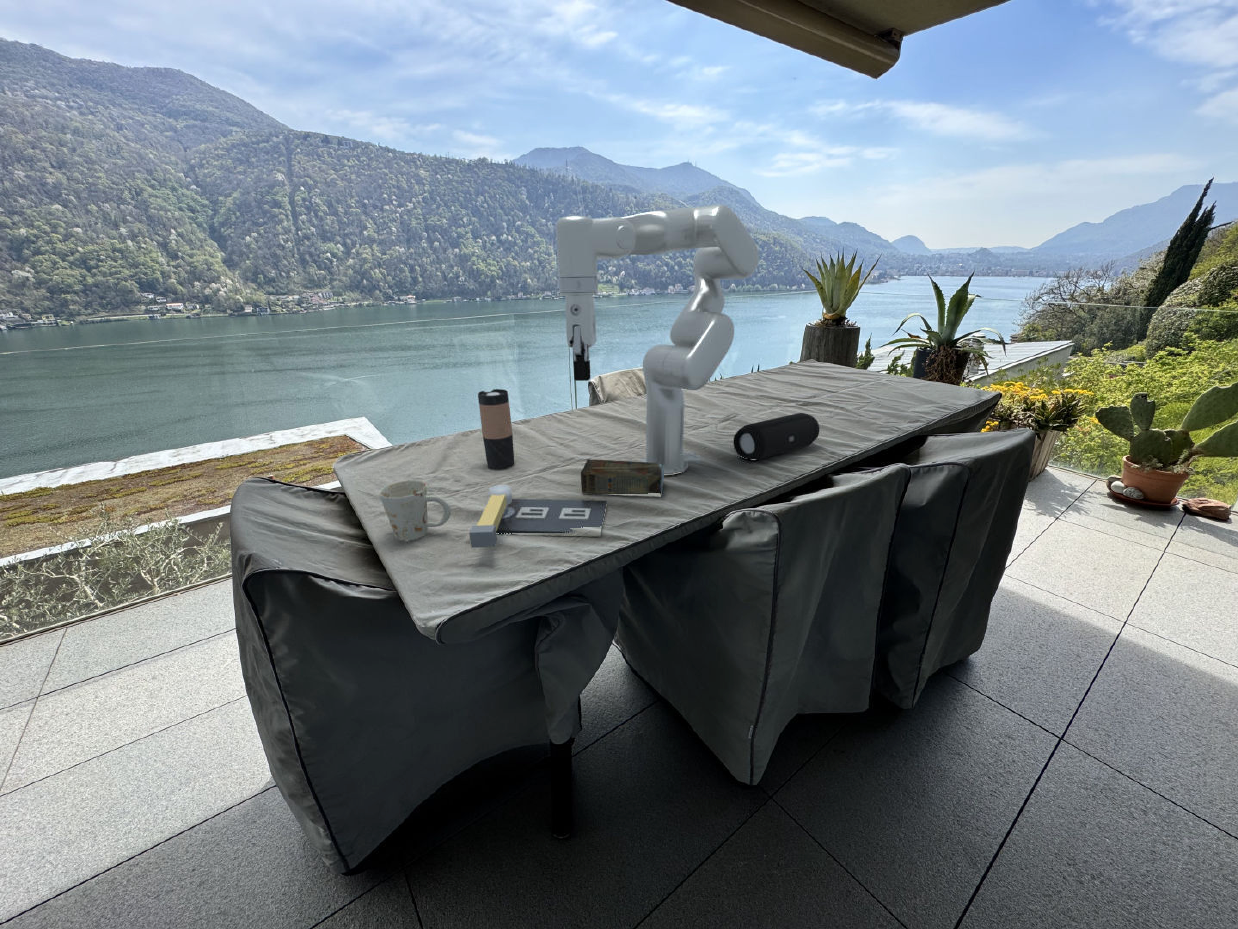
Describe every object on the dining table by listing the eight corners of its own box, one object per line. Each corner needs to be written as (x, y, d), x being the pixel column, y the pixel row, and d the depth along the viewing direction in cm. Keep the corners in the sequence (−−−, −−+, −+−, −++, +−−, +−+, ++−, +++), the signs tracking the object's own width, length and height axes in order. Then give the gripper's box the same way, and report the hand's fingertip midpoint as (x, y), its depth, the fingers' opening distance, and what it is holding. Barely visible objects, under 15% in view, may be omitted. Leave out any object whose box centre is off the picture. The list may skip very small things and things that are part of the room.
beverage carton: (662, 499, 109) (662, 472, 107) (580, 495, 112) (578, 469, 109) (664, 484, 116) (664, 459, 114) (586, 481, 119) (585, 457, 116)
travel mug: (508, 471, 125) (500, 396, 118) (481, 469, 127) (471, 395, 119) (519, 460, 132) (512, 389, 125) (494, 458, 134) (485, 388, 126)
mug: (397, 524, 99) (388, 480, 95) (459, 521, 100) (452, 477, 96) (382, 545, 92) (371, 498, 88) (449, 542, 92) (441, 495, 89)
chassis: (607, 504, 106) (606, 490, 105) (600, 537, 93) (599, 521, 92) (501, 502, 108) (499, 488, 107) (480, 534, 95) (478, 518, 94)
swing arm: (495, 546, 84) (493, 531, 83) (470, 547, 84) (468, 532, 83) (513, 497, 102) (512, 484, 101) (493, 498, 102) (491, 484, 101)
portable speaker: (756, 467, 126) (759, 431, 122) (729, 456, 133) (732, 422, 130) (819, 449, 138) (824, 415, 134) (791, 439, 146) (795, 408, 142)
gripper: (592, 288, 87) (596, 387, 94) (601, 285, 100) (603, 372, 107) (552, 288, 87) (558, 387, 94) (566, 286, 101) (570, 372, 108)
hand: (582, 379), depth 101 cm, fingers closed
